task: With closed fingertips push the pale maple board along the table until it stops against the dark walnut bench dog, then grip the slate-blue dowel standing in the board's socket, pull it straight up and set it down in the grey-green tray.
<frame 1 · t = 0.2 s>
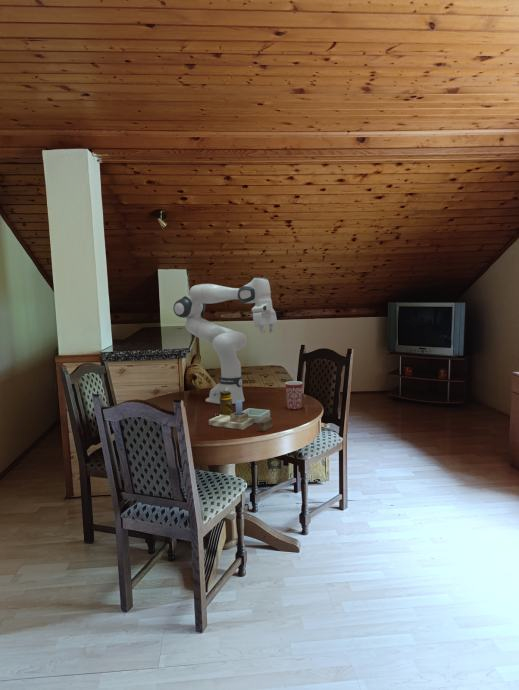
hand: (267, 333, 243), 39 cm above the table, tool pointing down, fingers open, 8 cm apart
tray: (254, 419, 220), on the table
bench dog: (265, 428, 205), on the table
condiment: (224, 416, 229), on the table
mug: (294, 407, 242), on the table
board: (231, 424, 213), on the table, slide at 0.0 cm, touching dowel
dowel: (239, 420, 211), point 2 cm above the table, touching board
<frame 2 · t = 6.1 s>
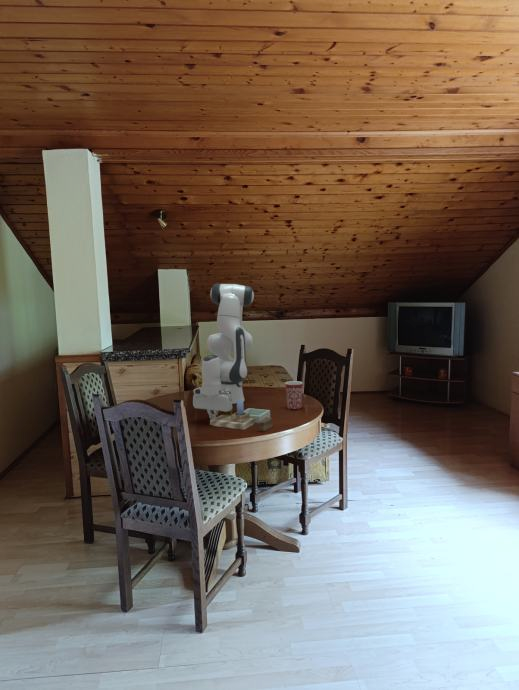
hand: (213, 418, 217), 2 cm above the table, tool pointing down, fingers closed
board: (232, 424, 213), on the table, slide at 0.6 cm, touching dowel, gripper
everything else where it was.
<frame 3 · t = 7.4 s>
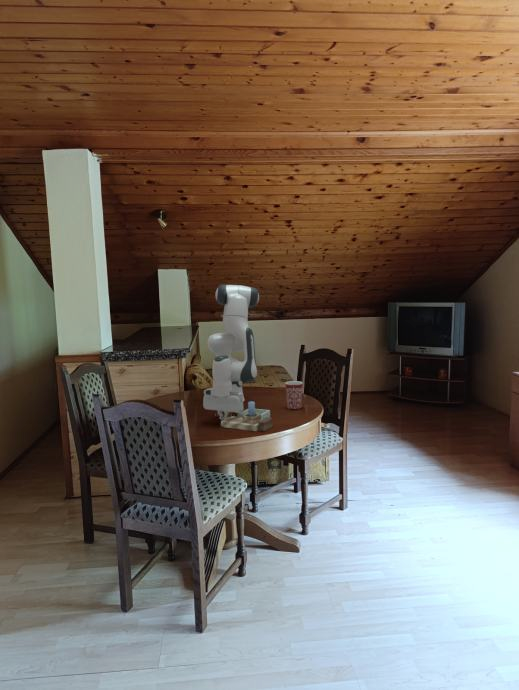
hand: (223, 419, 215), 2 cm above the table, tool pointing down, fingers closed
board: (243, 425, 210), on the table, slide at 6.5 cm, touching dowel, gripper
dowel: (251, 421, 208), point 2 cm above the table, touching board
everything else where it was.
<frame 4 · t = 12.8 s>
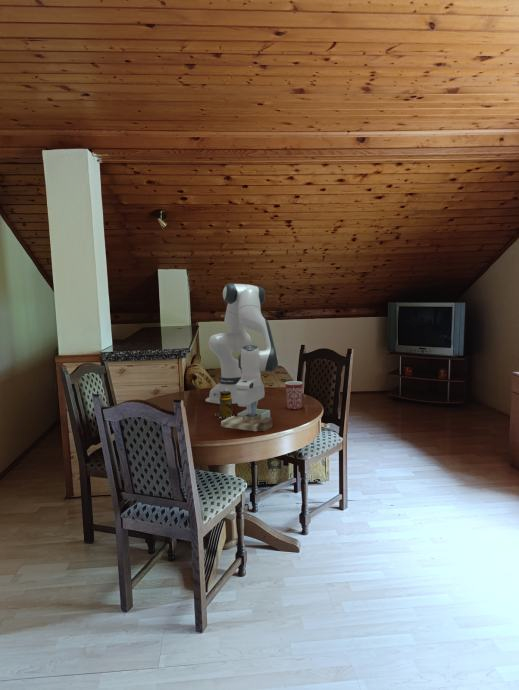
hand: (252, 411, 207), 7 cm above the table, tool pointing down, fingers closed on dowel, 3 cm apart
board: (243, 426, 210), on the table, slide at 6.6 cm, touching dowel
dowel: (252, 421, 208), point 3 cm above the table, touching board, gripper
everything else where it was.
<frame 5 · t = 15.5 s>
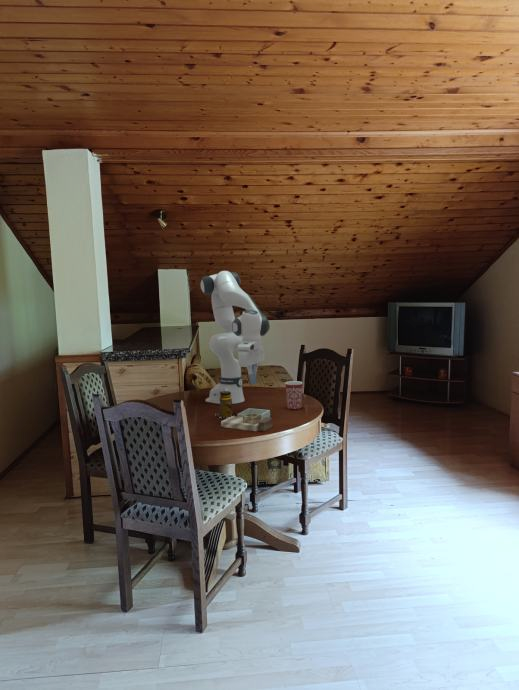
hand: (252, 373, 218), 22 cm above the table, tool pointing down, fingers closed on dowel, 3 cm apart
board: (243, 426, 210), on the table, slide at 6.6 cm
dowel: (253, 382, 218), point 18 cm above the table, touching gripper
everything else where it was.
when the fingers open (7 cm above the table, at t = 18.5 s): dowel drops 2 cm, resting on tray.
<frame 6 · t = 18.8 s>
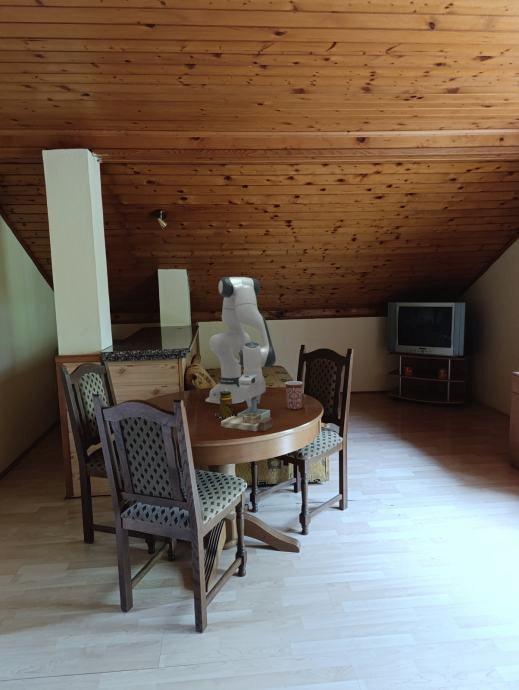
hand: (253, 405, 220), 7 cm above the table, tool pointing down, fingers open, 6 cm apart
dowel: (254, 418, 220), point 1 cm above the table, touching tray
everything else where it was.
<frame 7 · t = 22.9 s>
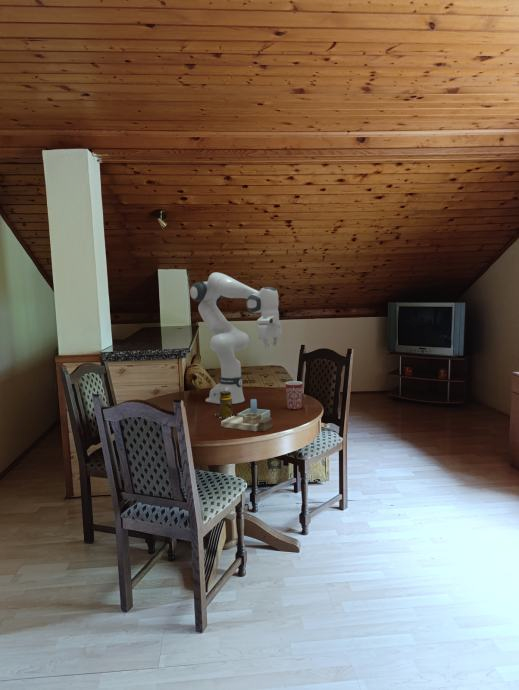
hand: (270, 346, 232), 33 cm above the table, tool pointing down, fingers open, 8 cm apart
nothing on the table moved.
at the end: board slide at 6.6 cm; dowel inside the target area on the tray (0.0 cm from its centre), point 0.6 cm above the tray's base; the gripper is holding nothing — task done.
